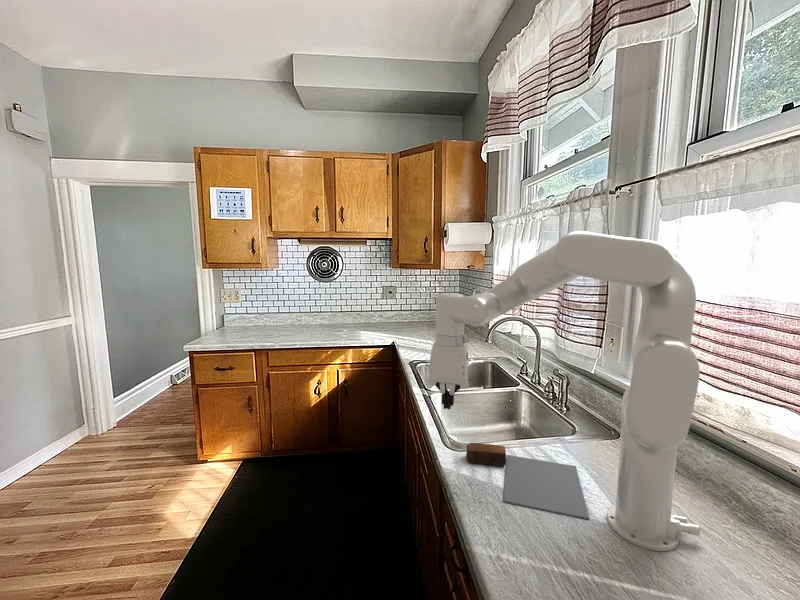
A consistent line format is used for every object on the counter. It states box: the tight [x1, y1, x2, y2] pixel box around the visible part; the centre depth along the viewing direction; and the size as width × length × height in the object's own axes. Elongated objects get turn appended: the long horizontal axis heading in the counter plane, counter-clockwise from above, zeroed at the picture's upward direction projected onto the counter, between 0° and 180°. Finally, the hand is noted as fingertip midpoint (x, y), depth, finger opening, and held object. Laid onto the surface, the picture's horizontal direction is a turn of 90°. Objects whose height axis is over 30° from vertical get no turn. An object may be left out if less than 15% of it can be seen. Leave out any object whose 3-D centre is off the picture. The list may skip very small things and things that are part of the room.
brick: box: [465, 442, 507, 467], centre depth 101 cm, size 11×4×5 cm
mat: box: [502, 454, 590, 521], centre depth 91 cm, size 18×21×1 cm
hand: (447, 407), depth 96 cm, fingers closed
